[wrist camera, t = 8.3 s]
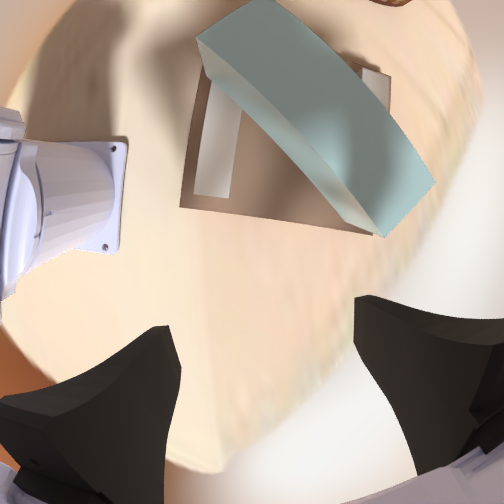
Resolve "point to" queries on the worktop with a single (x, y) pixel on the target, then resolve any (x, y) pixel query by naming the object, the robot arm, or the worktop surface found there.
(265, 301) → the worktop surface
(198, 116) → the display stand
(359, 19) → the worktop surface
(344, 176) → the glasses case
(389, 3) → the food container
